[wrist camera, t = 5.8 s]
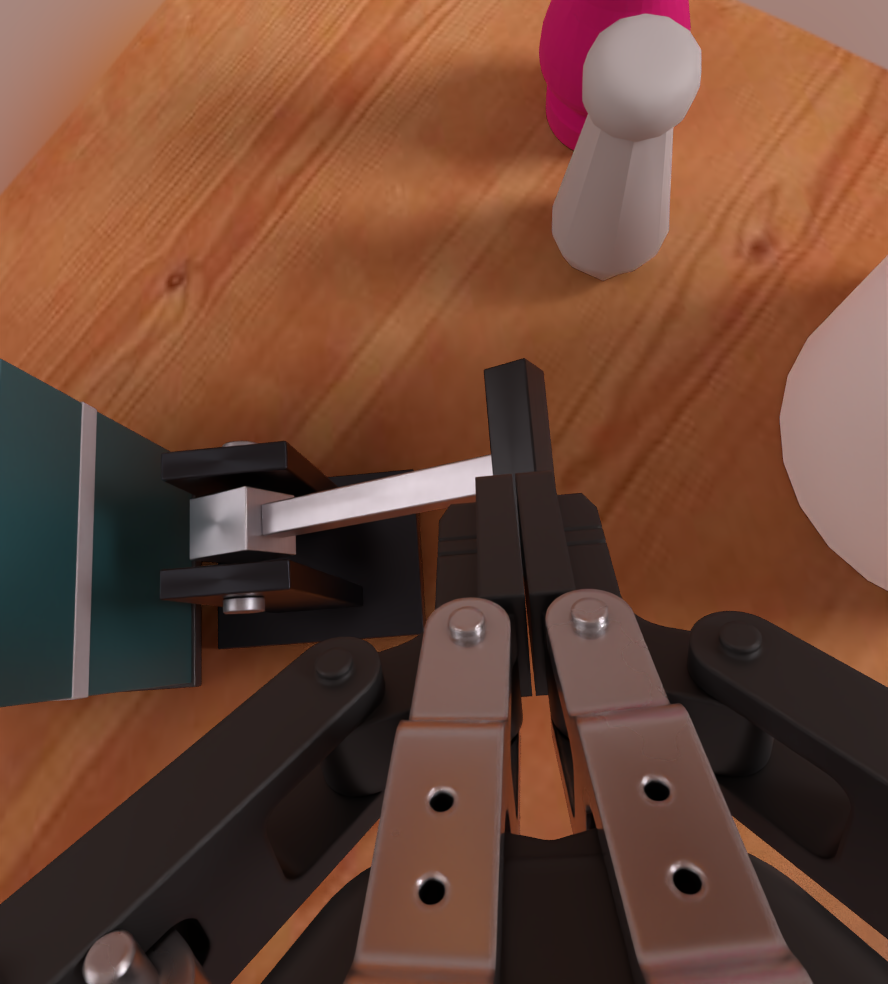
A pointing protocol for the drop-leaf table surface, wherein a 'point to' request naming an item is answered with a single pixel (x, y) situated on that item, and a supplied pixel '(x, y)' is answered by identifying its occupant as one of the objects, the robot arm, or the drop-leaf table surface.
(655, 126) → the salt shaker
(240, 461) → the bracket
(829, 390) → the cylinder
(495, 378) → the lever
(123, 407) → the drop-leaf table surface
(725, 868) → the robot arm
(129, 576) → the toaster
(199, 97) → the drop-leaf table surface
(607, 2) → the pepper mill
